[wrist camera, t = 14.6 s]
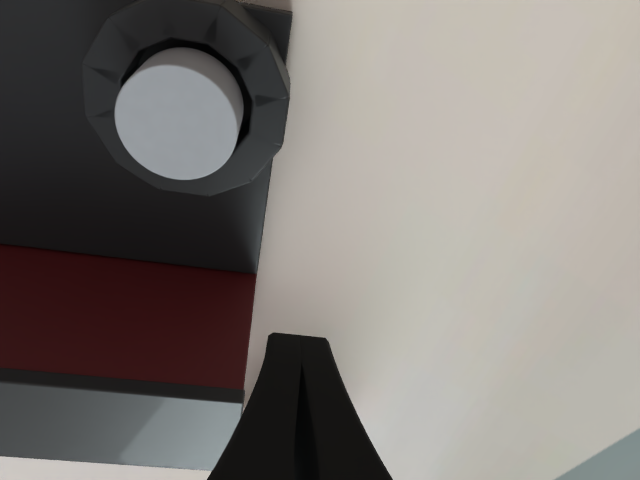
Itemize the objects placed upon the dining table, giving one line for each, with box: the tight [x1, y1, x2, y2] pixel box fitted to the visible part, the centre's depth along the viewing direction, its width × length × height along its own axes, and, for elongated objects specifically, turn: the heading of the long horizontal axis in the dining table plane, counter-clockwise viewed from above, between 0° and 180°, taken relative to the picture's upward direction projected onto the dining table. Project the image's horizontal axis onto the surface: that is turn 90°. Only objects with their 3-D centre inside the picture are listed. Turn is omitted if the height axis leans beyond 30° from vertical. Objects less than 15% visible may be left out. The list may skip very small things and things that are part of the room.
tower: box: [0, 244, 257, 471], centre depth 20 cm, size 5×14×8 cm, turn 80°
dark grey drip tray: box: [0, 0, 292, 274], centre depth 18 cm, size 11×14×3 cm
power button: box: [114, 47, 244, 180], centre depth 16 cm, size 4×4×2 cm
